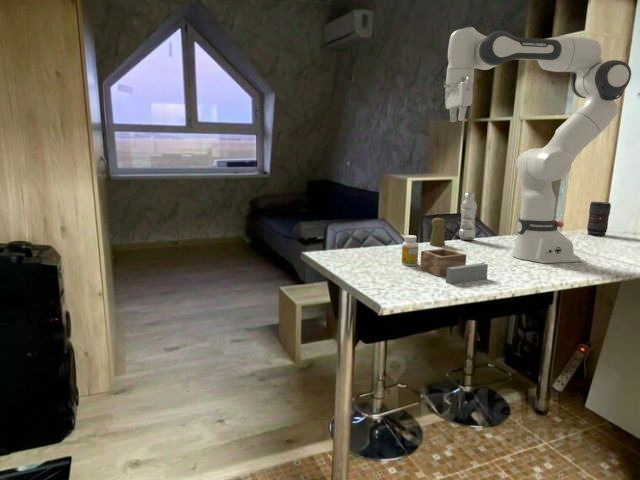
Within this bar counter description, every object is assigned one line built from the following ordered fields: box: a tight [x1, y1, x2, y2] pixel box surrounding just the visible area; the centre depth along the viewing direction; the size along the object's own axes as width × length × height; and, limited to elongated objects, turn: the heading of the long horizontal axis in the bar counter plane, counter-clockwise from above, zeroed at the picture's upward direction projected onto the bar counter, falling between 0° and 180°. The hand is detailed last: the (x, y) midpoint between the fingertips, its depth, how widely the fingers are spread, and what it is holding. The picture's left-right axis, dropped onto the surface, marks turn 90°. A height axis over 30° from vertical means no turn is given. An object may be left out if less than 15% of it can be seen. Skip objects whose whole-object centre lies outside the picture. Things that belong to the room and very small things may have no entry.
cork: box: [429, 217, 446, 247], centre depth 189 cm, size 6×6×11 cm
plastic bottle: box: [458, 192, 478, 241], centre depth 198 cm, size 6×7×20 cm
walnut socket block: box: [419, 247, 467, 277], centre depth 151 cm, size 10×10×6 cm
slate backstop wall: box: [445, 262, 489, 285], centre depth 141 cm, size 2×14×4 cm, turn 115°
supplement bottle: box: [401, 234, 419, 267], centre depth 159 cm, size 5×5×10 cm
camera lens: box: [586, 201, 612, 237], centre depth 211 cm, size 8×8×15 cm
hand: (457, 121), depth 161 cm, fingers open, 8 cm apart
